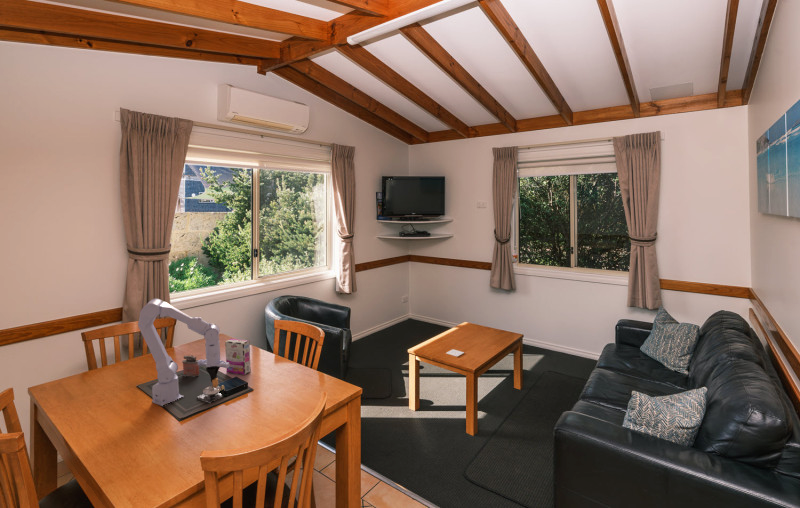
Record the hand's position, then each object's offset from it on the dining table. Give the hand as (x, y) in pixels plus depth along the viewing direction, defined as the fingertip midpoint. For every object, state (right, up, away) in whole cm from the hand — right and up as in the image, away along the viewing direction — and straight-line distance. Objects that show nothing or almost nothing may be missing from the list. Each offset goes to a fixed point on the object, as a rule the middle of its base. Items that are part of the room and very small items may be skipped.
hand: (214, 381), depth 180 cm
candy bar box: (+2, -3, +23) cm, 23 cm away
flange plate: (+1, -3, -3) cm, 5 cm away
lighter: (-20, -3, +18) cm, 27 cm away
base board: (+1, -6, -4) cm, 7 cm away
